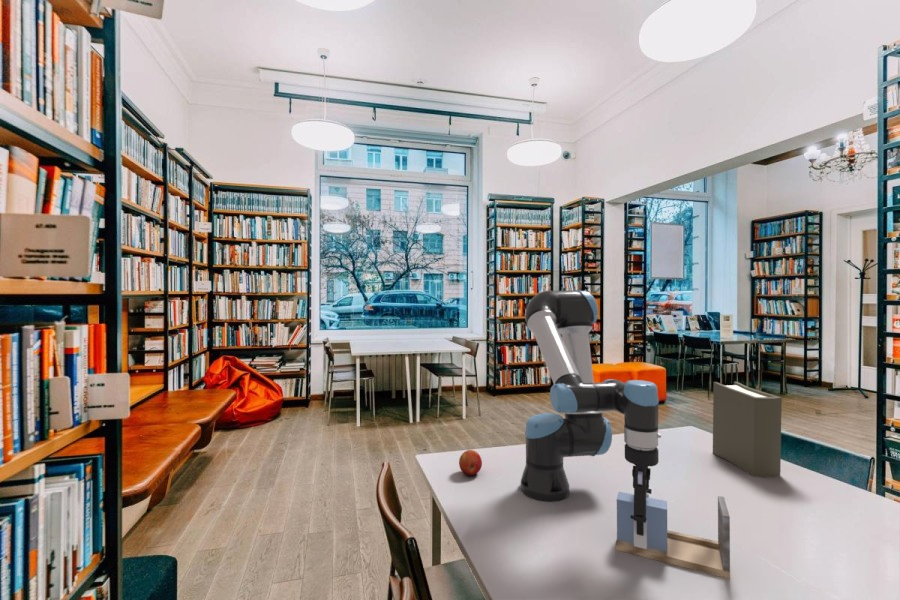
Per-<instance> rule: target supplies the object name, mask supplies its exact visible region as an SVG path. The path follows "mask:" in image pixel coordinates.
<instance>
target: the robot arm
mask: <svg viewBox="0 0 900 600" xmlns="http://www.w3.org/2000/svg"><path fill="white" fill-rule="evenodd" d="M598 309H599V307H598V304H597V301H596V298H595V297H594V296H593V294H591V292H589V291H588V290H579V289H578V290H577V289H575V290H544V291H541V292H538V293H537V294H536V295H533V297H532V298H531V299H530V300H529V302H528V304H527V306H526V309H525V313H524V319H525V323H526V326H527V329H528V330H529V331H530V332H531V333H533V334H534V338H535V340H536V344H537V345H538V348H539V350H540V353H541V356H542V358H543V360H544V363H545V365H546V368H547V370H548V373H549V375H550V377H551V380H552V383H553V385H552V386H551V387H550V390H549V391H550V392H549V399H550V404H551V406H552V408H553V410H554V411H555V412H557V413H555V412H554V413H553V412H552V413H551V412H543V413H538V414H535V415H532V416H531V417H529V418H528V419H527V421H525V422H526V423H525V430H524V431H525V432H524V436H525V467H524V469H523V472H522V474H521V475H522V476H521V478H520V491H521V492H522V493H523V494H524V495H526V496H527V497H529V498H532V499H534V500H538V501H546V502H554V501H555V502H556V501H561V500H564V499H566V498H567V497H568V496H569V495H570V484H569V481H568V477H567V473H566V471H565V468H564V458H567V457H568V458H571V457H572V458H573V457H586V456H589V457H595V456H603V455H604V454H606V453H607V452H608V451H609V449H611V446H612V441H613V429H612V426H611V424H610V421H609V420H608V418H607V417H604V416H603V412H618V413H621V414H623V415H624V428H623V433H624V434H623V435H624V437H623V439H624V440H623V441H624V443H625V444H624V458H625V460H626V462H628V463H630V464H632V470H631V475H632V487H633V491H634V492H633V495H634V515H630V518H631V519H633V520H634V546H635V547H639V548H643V549H647V518H646V497H648V498H650V497H649V494H650V495H652V488H649V487H650V480H651V468H649V467H655V466H657V465H658V464H659V462H660V461H659V448H658V447H659V439H661V438H662V435H661V434H660V433H659V403H660V400H659V396H658V395H659V394H658V393H659V391H658V386H657V384H656V383H655V382H652V381H648V380H643V379H639V380H638V379H631V380H627V381H625V382H623V381H621V380H618V379H613V378H611V379H610V378H609V379H605V380H603V381H602V382H595V381H594V375H593V374H594V373H593V372H594V371H593V363H592V355H591V354H592V353H591V345H590V337H589V333H590V332H591V330H593V324H595V323H596V322H597V321H598V314H599V310H598ZM558 413H559V414H558ZM560 413H562V414H564V418H563V416H562V415H561V414H560Z"/></svg>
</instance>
